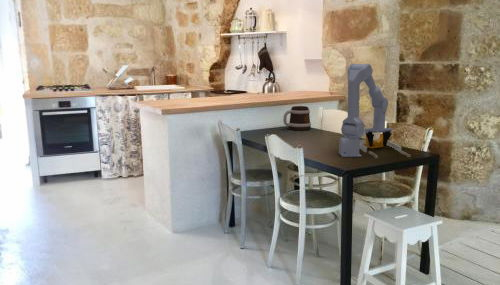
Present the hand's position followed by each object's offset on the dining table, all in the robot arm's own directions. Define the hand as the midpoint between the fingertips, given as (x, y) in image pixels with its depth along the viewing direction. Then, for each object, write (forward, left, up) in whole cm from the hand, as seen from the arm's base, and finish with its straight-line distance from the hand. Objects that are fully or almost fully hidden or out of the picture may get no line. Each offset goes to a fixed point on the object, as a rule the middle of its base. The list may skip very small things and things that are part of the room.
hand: (377, 146), depth 226 cm
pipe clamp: (+1, +4, -1) cm, 5 cm away
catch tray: (0, +2, -1) cm, 2 cm away
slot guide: (0, -16, -1) cm, 16 cm away
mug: (-32, +65, -2) cm, 72 cm away
